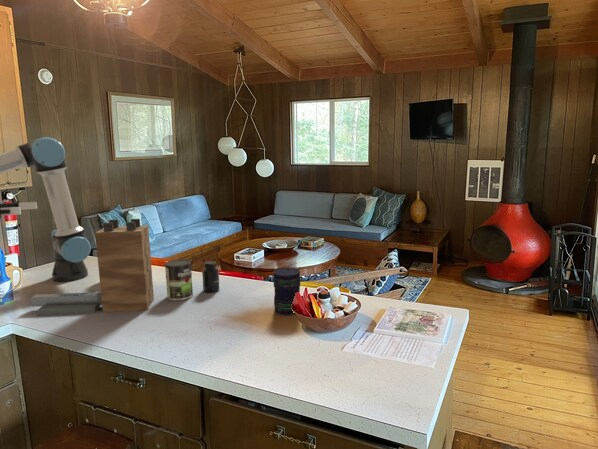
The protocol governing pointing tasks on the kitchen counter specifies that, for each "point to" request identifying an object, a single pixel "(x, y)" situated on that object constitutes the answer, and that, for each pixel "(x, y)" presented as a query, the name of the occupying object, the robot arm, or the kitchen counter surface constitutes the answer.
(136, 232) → the brown wooden tall block
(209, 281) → the supplement bottle
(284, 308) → the storage jar
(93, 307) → the gray block
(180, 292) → the coffee can
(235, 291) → the kitchen counter surface
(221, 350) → the kitchen counter surface
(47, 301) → the grey bar
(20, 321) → the kitchen counter surface
